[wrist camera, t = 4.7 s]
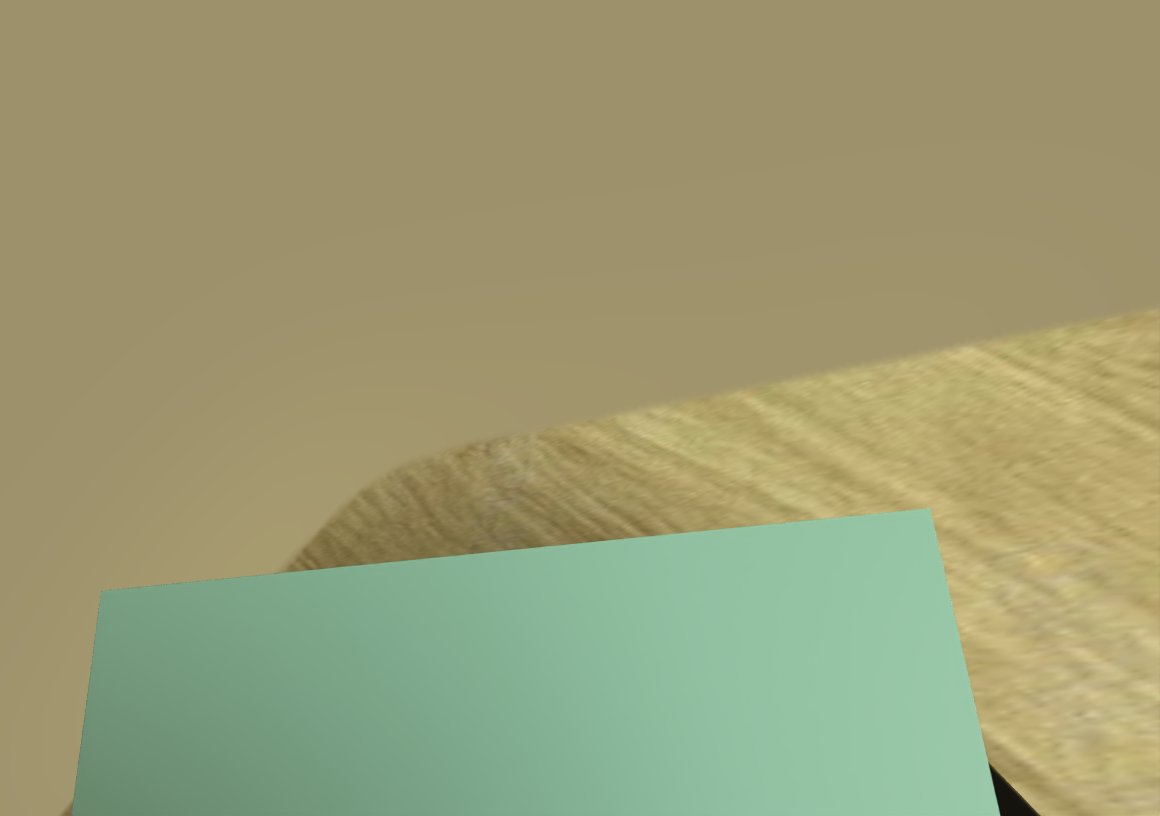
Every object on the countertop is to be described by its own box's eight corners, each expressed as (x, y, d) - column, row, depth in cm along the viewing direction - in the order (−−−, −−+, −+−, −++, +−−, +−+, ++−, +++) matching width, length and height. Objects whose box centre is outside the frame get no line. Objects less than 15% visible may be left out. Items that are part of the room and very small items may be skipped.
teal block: (811, 845, 13) (1308, 2151, 2) (577, 851, 14) (-62, 1812, 3) (773, 597, 15) (929, 510, 3) (562, 615, 15) (101, 591, 4)
